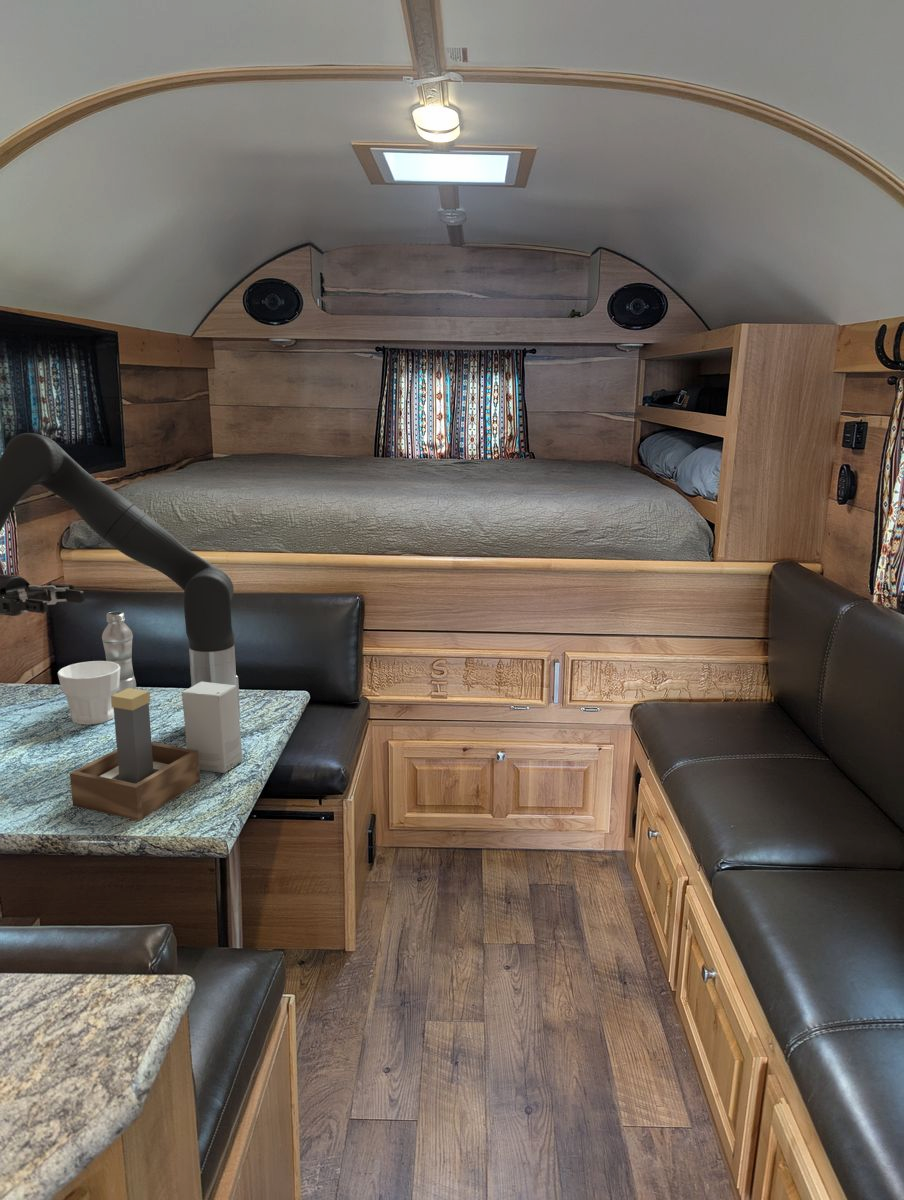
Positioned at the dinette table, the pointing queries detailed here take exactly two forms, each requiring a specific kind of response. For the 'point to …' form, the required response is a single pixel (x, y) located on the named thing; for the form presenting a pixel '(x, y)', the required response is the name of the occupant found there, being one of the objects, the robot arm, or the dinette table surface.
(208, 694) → the skincare box
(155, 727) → the dinette table surface
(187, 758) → the walnut box
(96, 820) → the dinette table surface
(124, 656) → the plastic bottle
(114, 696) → the grey plug
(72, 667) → the cup
